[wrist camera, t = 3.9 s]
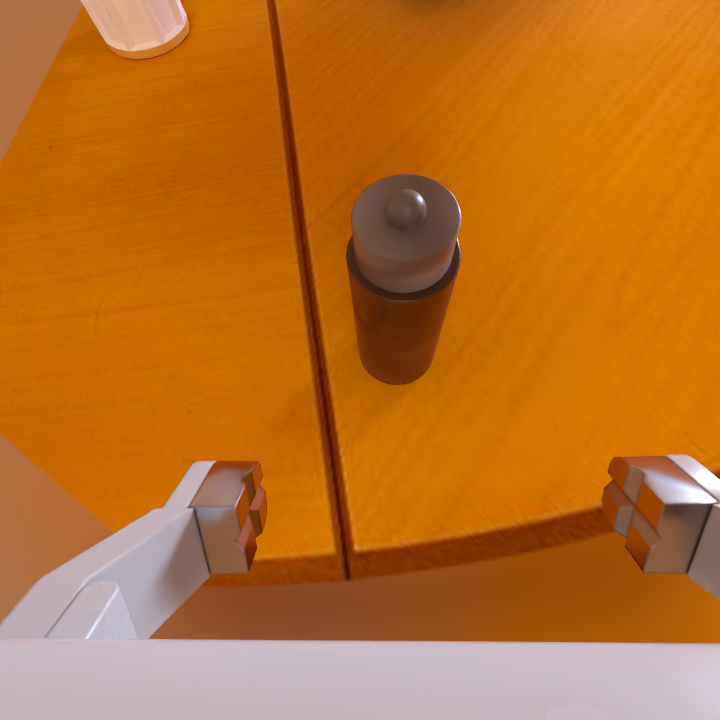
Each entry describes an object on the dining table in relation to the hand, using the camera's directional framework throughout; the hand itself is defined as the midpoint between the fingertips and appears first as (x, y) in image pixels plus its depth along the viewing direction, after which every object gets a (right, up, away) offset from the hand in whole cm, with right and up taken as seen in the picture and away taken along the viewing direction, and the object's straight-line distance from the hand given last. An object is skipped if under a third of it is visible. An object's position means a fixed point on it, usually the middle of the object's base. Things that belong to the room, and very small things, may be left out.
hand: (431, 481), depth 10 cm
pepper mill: (+1, +4, +19) cm, 19 cm away
